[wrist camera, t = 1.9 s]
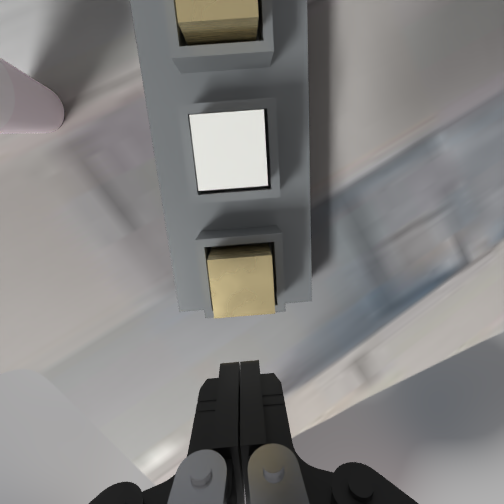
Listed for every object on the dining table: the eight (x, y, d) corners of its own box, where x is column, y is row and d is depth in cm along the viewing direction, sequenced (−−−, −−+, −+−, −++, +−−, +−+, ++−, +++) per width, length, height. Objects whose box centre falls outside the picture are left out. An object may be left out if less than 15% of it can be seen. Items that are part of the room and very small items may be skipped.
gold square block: (267, 243, 23) (271, 254, 20) (271, 294, 24) (275, 313, 21) (211, 247, 23) (207, 260, 19) (217, 299, 24) (214, 318, 21)
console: (295, -23, 23) (317, -103, 16) (302, 284, 30) (320, 317, 23) (142, -12, 23) (100, -89, 16) (187, 293, 30) (171, 329, 23)
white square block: (260, 118, 20) (263, 109, 17) (264, 183, 21) (268, 185, 18) (197, 123, 20) (189, 114, 17) (204, 187, 21) (198, 190, 18)
